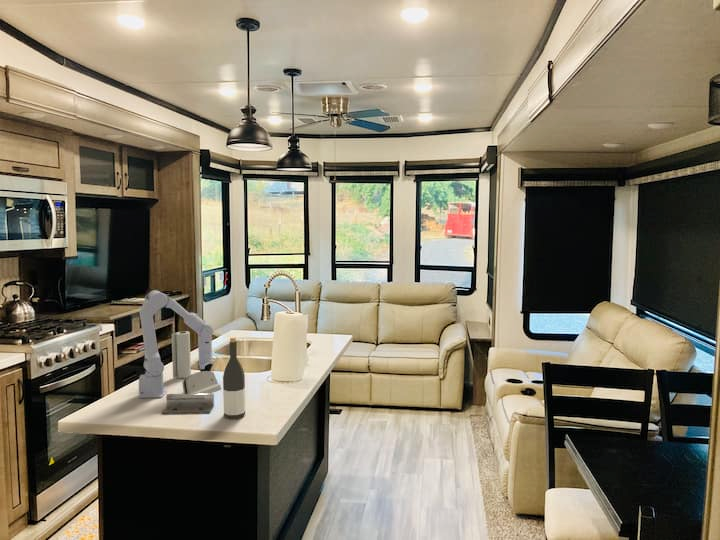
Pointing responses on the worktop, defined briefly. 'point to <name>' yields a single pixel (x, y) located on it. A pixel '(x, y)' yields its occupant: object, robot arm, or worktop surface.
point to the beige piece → (201, 383)
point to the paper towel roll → (181, 354)
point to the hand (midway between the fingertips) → (206, 380)
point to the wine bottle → (234, 385)
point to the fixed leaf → (189, 403)
